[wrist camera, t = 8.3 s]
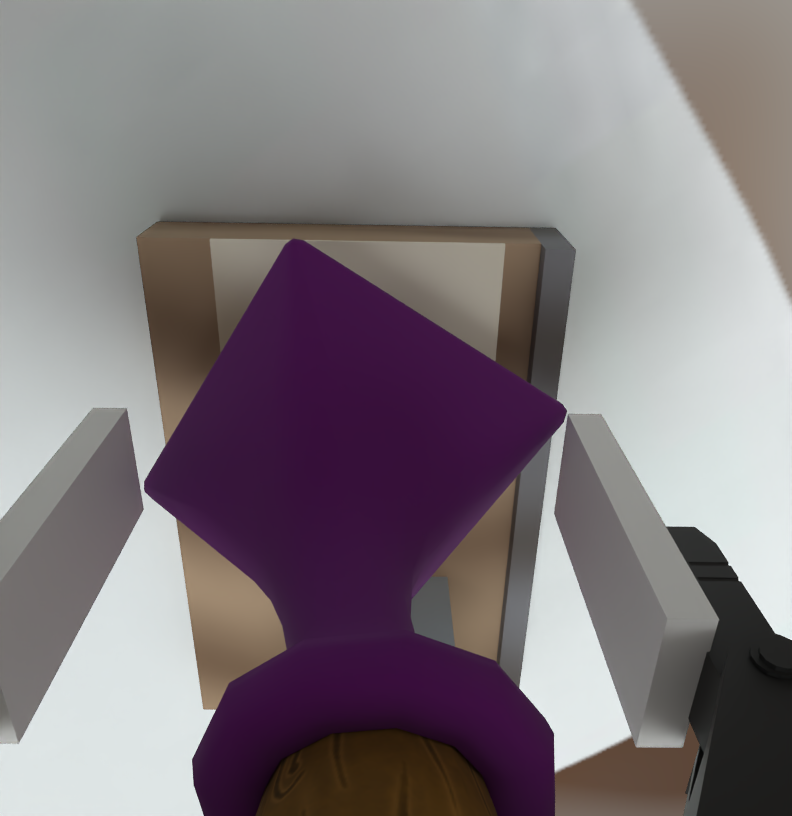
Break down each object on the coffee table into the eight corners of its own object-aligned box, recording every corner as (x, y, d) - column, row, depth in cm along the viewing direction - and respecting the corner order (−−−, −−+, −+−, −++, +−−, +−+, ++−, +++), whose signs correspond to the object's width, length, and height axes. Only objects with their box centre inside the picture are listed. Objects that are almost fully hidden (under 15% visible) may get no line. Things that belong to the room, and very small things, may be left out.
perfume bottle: (307, 202, 18) (-494, 1696, 2) (545, 357, 20) (1250, 1761, 4) (174, 427, 21) (-612, 1804, 4) (394, 543, 22) (404, 1807, 6)
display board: (157, 221, 21) (128, 242, 19) (559, 228, 21) (579, 249, 19) (214, 669, 29) (199, 722, 27) (507, 671, 29) (517, 724, 27)
